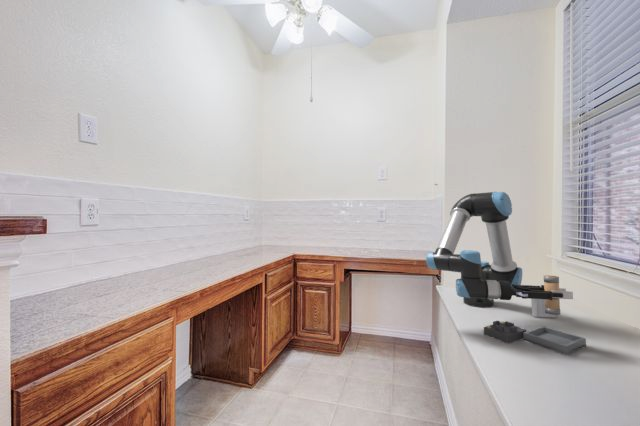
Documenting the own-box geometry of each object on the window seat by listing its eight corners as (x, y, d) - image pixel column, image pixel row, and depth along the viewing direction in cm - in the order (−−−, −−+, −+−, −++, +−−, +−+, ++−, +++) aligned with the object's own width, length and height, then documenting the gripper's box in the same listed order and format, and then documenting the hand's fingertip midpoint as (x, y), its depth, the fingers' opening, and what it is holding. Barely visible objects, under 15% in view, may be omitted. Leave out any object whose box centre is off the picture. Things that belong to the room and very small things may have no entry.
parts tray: (543, 333, 119) (542, 325, 119) (586, 346, 106) (585, 338, 106) (523, 340, 113) (523, 332, 113) (566, 355, 100) (566, 346, 100)
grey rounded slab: (552, 315, 139) (551, 289, 140) (559, 318, 135) (558, 292, 135) (530, 315, 140) (529, 289, 140) (536, 318, 136) (535, 292, 136)
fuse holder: (501, 328, 124) (501, 317, 124) (526, 337, 115) (526, 325, 115) (483, 334, 119) (483, 322, 119) (508, 343, 110) (508, 331, 110)
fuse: (548, 310, 113) (547, 274, 113) (562, 313, 109) (561, 276, 109) (542, 312, 111) (541, 276, 111) (556, 315, 107) (555, 278, 107)
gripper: (493, 293, 124) (558, 297, 116) (504, 305, 107) (582, 310, 100) (492, 276, 124) (557, 278, 116) (504, 285, 107) (581, 289, 100)
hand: (568, 293), depth 108 cm, fingers closed on fuse, 4 cm apart
